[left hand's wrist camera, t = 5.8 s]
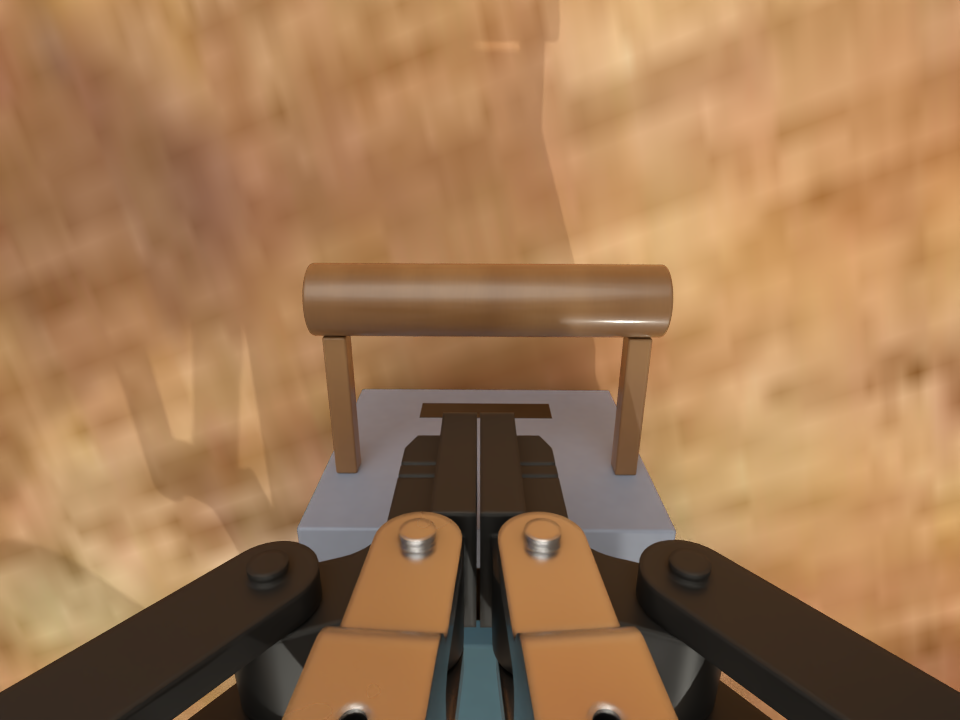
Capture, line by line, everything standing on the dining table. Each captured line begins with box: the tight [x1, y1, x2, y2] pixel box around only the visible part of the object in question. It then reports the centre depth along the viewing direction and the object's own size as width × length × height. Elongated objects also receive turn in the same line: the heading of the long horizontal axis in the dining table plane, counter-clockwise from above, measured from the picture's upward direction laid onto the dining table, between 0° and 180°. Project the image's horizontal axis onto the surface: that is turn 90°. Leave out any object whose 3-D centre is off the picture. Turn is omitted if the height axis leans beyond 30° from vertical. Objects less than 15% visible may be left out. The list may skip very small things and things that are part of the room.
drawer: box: [297, 263, 676, 620], centre depth 20 cm, size 25×9×8 cm, turn 0°
